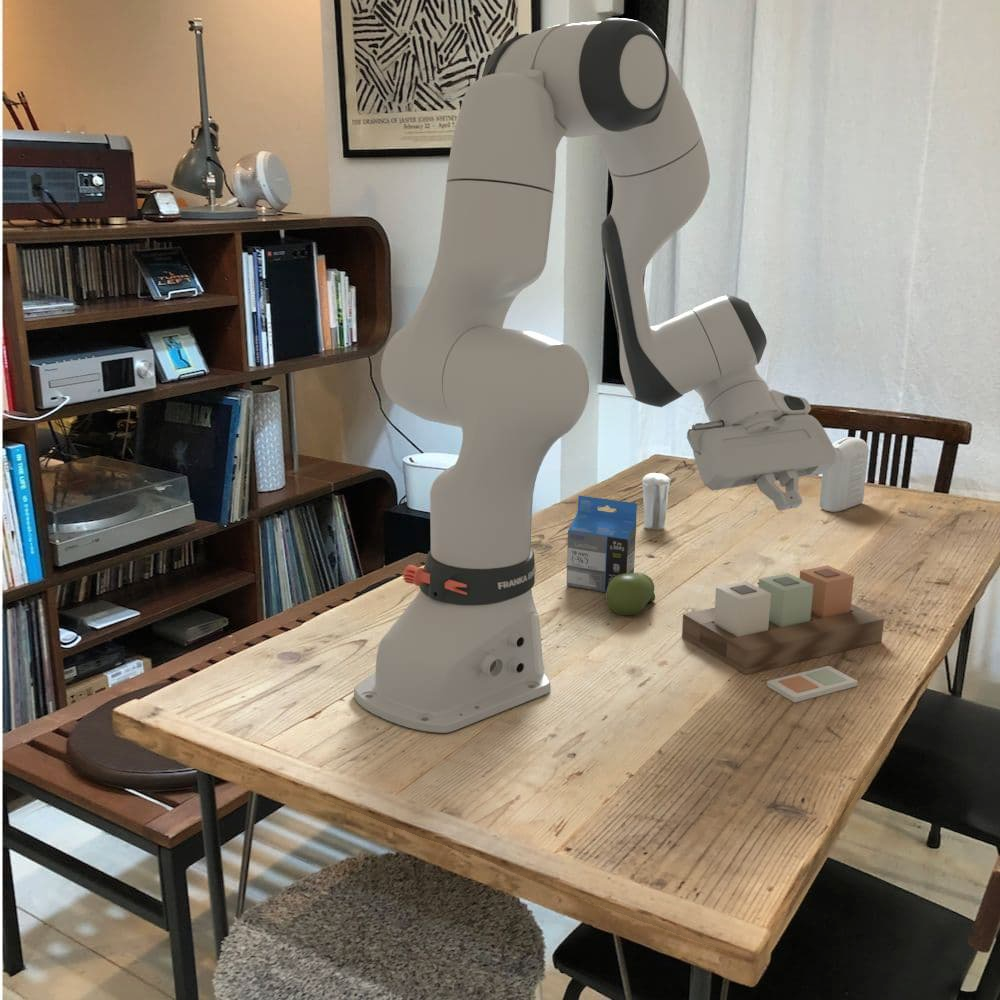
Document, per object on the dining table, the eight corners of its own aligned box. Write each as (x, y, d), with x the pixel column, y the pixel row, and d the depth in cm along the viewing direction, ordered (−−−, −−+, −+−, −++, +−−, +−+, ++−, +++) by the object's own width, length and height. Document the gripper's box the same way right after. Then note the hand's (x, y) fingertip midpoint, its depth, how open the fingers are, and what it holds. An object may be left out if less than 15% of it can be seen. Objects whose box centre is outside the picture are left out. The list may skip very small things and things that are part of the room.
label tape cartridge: (564, 586, 143) (566, 501, 140) (574, 578, 147) (577, 494, 143) (625, 597, 140) (629, 510, 136) (634, 587, 143) (638, 502, 140)
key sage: (781, 627, 122) (784, 589, 121) (756, 614, 126) (759, 577, 125) (810, 621, 124) (813, 583, 123) (784, 608, 128) (787, 572, 127)
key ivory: (737, 637, 120) (740, 598, 118) (713, 623, 123) (716, 586, 122) (768, 630, 122) (771, 592, 120) (743, 617, 125) (746, 580, 124)
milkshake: (664, 534, 166) (667, 474, 164) (635, 528, 169) (637, 469, 167) (677, 527, 170) (680, 468, 167) (648, 521, 173) (651, 464, 170)
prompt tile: (794, 702, 110) (794, 696, 110) (766, 686, 114) (767, 680, 113) (856, 685, 114) (857, 679, 114) (828, 670, 118) (828, 664, 117)
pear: (601, 574, 132) (626, 563, 141) (598, 614, 133) (623, 601, 142) (642, 580, 130) (665, 569, 139) (639, 622, 130) (662, 608, 139)
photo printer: (844, 498, 187) (850, 431, 184) (866, 503, 184) (873, 435, 181) (815, 509, 180) (821, 440, 177) (838, 514, 177) (844, 444, 174)
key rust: (822, 618, 125) (826, 581, 124) (797, 605, 129) (800, 569, 128) (850, 612, 127) (854, 575, 126) (824, 600, 131) (827, 564, 130)
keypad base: (745, 674, 116) (747, 650, 116) (681, 636, 127) (683, 613, 126) (881, 641, 125) (884, 618, 125) (812, 608, 136) (814, 587, 135)
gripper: (693, 411, 130) (738, 505, 124) (816, 398, 139) (863, 484, 133) (671, 439, 135) (713, 530, 129) (791, 424, 144) (835, 509, 138)
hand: (790, 507), depth 131 cm, fingers closed
